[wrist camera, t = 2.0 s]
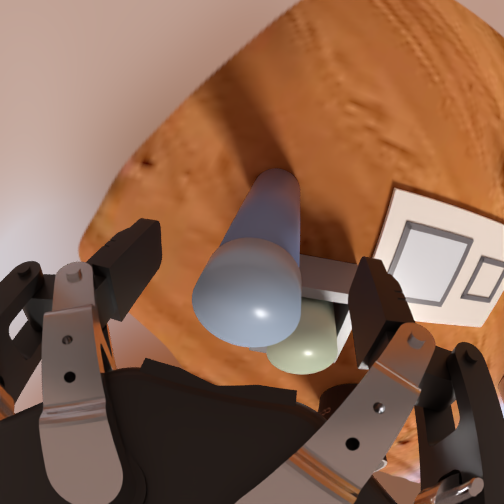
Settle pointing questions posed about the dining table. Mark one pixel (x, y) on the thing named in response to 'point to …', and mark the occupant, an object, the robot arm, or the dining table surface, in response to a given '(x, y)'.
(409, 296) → the sheet
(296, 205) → the marker
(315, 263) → the button housing
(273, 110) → the dining table surface
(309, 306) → the button
